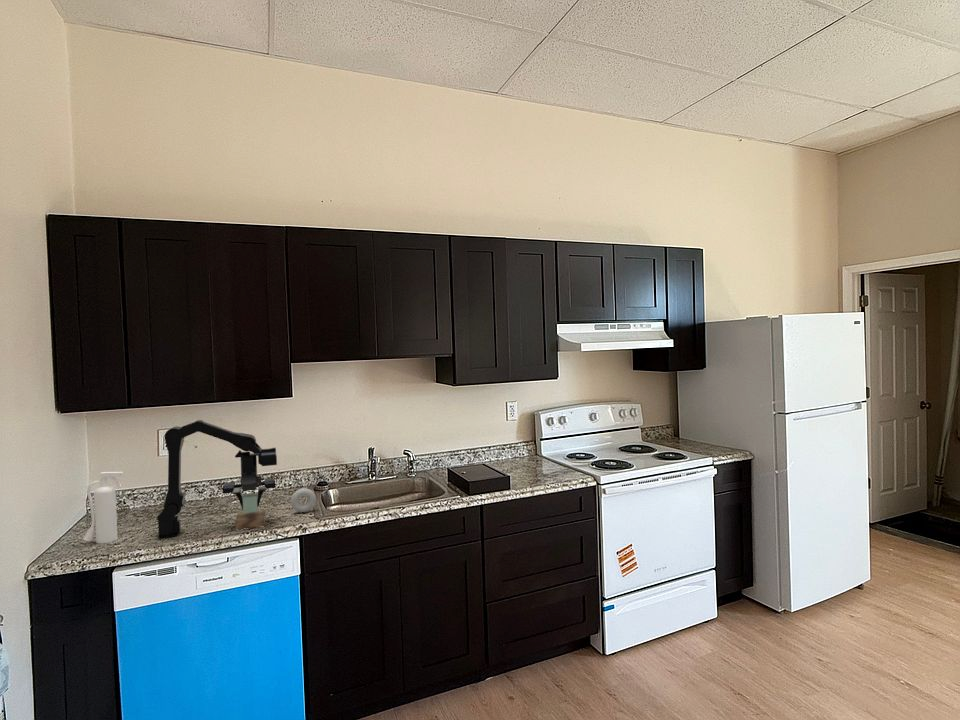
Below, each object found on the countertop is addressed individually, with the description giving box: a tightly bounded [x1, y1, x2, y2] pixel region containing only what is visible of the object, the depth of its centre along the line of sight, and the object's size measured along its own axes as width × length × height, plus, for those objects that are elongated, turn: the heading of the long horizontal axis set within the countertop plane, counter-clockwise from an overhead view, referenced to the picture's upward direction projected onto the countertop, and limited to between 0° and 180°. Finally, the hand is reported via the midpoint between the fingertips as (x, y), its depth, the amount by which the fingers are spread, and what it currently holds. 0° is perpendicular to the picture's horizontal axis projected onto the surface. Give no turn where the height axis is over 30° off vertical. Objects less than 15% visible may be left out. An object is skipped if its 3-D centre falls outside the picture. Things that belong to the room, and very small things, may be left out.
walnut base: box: [234, 509, 267, 530], centre depth 209 cm, size 10×10×4 cm
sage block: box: [242, 492, 259, 513], centre depth 209 cm, size 5×5×6 cm
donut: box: [290, 487, 317, 513], centre depth 223 cm, size 10×4×10 cm, turn 112°
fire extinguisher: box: [82, 471, 124, 544], centre depth 195 cm, size 7×12×25 cm, turn 116°
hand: (250, 507), depth 209 cm, fingers closed on sage block, 5 cm apart
